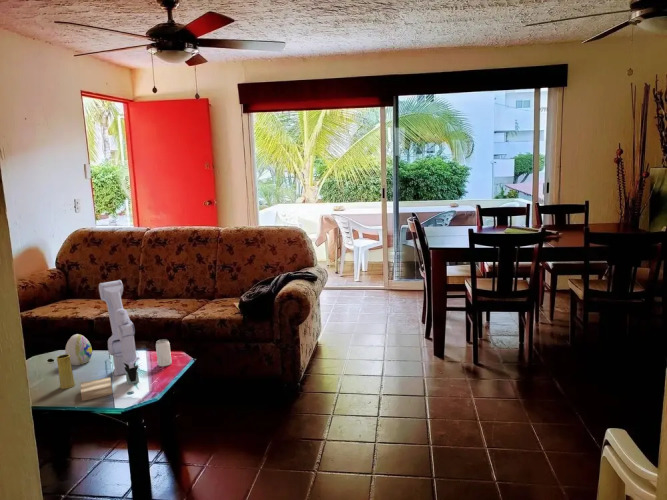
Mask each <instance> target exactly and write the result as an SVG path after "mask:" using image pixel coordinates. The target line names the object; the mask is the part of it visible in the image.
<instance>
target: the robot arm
mask: <svg viewBox="0 0 667 500" xmlns="http://www.w3.org/2000/svg"><path fill="white" fill-rule="evenodd" d="M123 292H124V284H123V282H122V280H121V279H118V280H113V281H107V282H106V281H104V282H100V283H99V284H98V293H99V297H100V300H101V301H104V302H105V303H106V307H107V312H108V313H107V314H108V316H109V322H110V328H111V332H112V333H111V336H110V337H109V338H108V340H107V349H108V353H109V355H110V356H112V358H113V359H112V360H113V365H114V368H113V372H114V376H115V377H116V376H122V375H126V372H127V373H128V375H129V379H130V381H131V382H133V381H136V372H137V370H138V369H139V365H136V363H137V361H138V360H140V356H137V351H136V349H137V348H136V342H135V333H136V329H135V325H134V323H133V322H132V320H131V319H130V315H129V312H128V311H127V310H126V309H124V305H123V301H122V296H123ZM125 371H126V372H125Z"/></svg>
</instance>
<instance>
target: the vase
mask: <svg viewBox="0 0 667 500" xmlns="http://www.w3.org/2000/svg"><path fill="white" fill-rule="evenodd" d="M56 362H57V363H56V364H57V369H58V370H57V371H58V379H59V388H60V389H61V390H62V389H63V390H65V389H70V388H72V387H75V385H76V382H75V379H74V373H73V368H72V364H71V361H70V355H69V354H60V355H57V356H56Z"/></svg>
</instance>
